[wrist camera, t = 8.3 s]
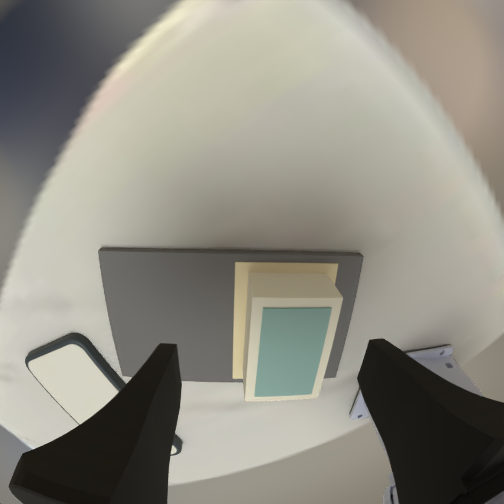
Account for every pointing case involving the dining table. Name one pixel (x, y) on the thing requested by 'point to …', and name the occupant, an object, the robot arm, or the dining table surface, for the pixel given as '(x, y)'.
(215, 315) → the mat
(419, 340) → the dining table surface
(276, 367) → the card box
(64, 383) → the phone case
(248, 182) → the dining table surface
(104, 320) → the dining table surface
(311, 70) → the dining table surface
